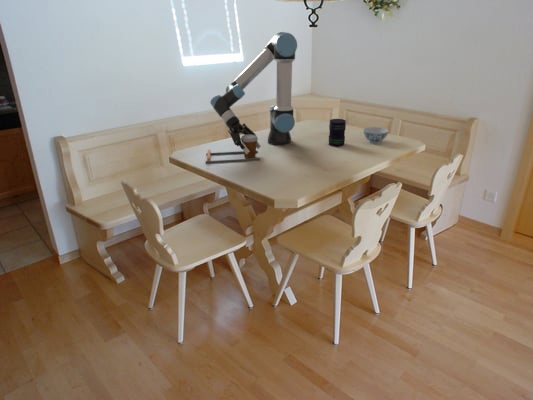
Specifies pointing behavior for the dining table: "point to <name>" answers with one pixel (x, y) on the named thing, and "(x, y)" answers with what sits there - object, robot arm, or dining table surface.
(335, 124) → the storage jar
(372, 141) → the chinaware
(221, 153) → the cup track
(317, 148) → the dining table surface
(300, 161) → the dining table surface
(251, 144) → the disposable coffee cup
